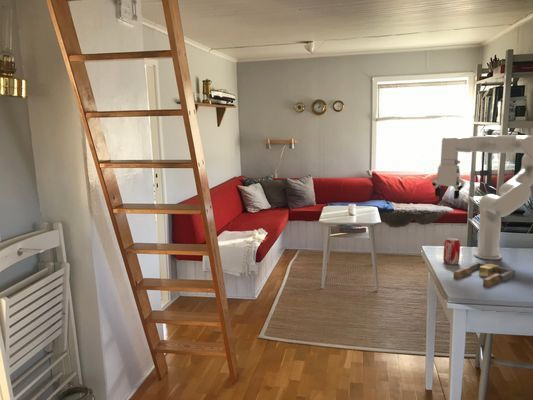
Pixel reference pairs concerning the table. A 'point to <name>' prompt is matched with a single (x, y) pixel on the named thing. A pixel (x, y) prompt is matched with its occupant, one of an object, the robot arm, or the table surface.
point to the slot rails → (486, 281)
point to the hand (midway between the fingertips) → (446, 197)
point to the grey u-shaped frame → (503, 271)
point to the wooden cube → (495, 269)
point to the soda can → (451, 251)
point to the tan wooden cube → (485, 271)
